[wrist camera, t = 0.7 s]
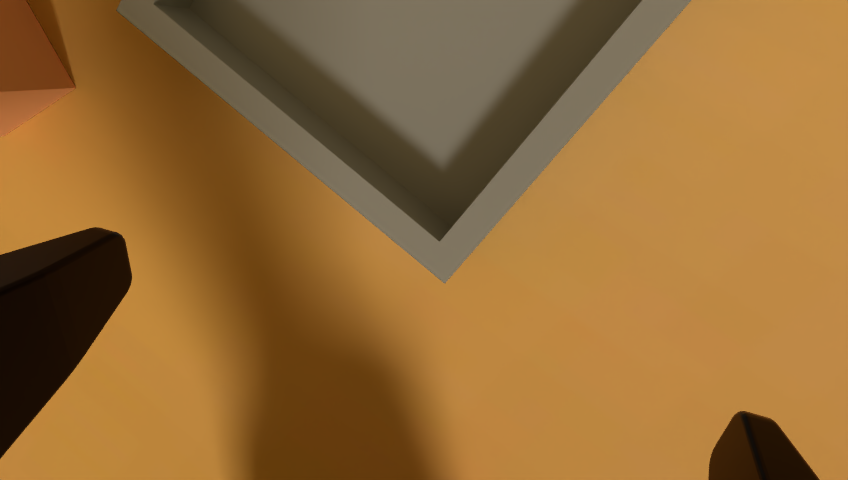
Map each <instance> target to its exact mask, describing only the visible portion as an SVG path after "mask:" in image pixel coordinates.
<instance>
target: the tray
mask: <svg viewBox="0 0 848 480" xmlns="http://www.w3.org/2000/svg"><path fill="white" fill-rule="evenodd" d="M690 1H691V0H121V2H120V4H119V6H118V8H117V10H116V11H117V12H119V13H120V14H121V15H122V16H123V17H125V18H126V19H127V20H128V21H129V22H131V23H132V24H133V25H134V26H135V27H137V28H138V29H139V30H140V31H141V32H143V33H144V34H145V35H146V36H148V37H149V38H150V39H151V40H152V41H154V42H155V43H156V44H157V45H158V46H160V47H161V48H162V49H163V50H164V51H166V52H167V53H168V54H169V55H170V56H172V57H173V58H174V59H175V60H176V61H178V62H179V63H180V64H181V65H182V66H184V67H185V68H186V69H187V70H188V71H190V72H191V73H192V74H193V75H194V76H196V77H197V78H198V79H199V80H200V81H202V82H203V83H204V84H205V85H206V86H208V87H209V88H210V89H211V90H212V91H214V92H215V93H216V94H217V95H218V96H220V97H221V98H222V99H223V100H224V101H226V102H227V103H228V104H229V105H230V106H232V107H233V108H234V109H235V110H237V111H238V112H239V113H240V114H241V115H243V116H244V117H245V118H246V119H247V120H249V121H250V122H251V123H252V124H253V125H255V126H256V127H257V128H258V129H259V130H261V131H262V132H263V133H264V134H265V135H267V136H268V137H269V138H270V139H271V140H273V141H274V142H275V143H276V144H277V145H279V146H280V147H281V148H282V149H283V150H285V151H286V152H287V153H288V154H289V155H291V156H292V157H293V158H294V159H295V160H297V161H298V162H299V163H300V164H301V165H303V166H304V167H305V168H306V169H307V170H309V171H310V172H311V173H312V174H313V175H315V176H316V177H317V178H318V179H320V180H321V181H322V182H323V183H324V184H326V185H327V186H328V187H329V188H330V189H332V190H333V191H334V192H335V193H336V194H338V195H339V196H340V197H341V198H342V199H344V200H345V201H346V202H347V203H348V204H350V205H351V206H352V207H353V208H354V209H356V210H357V211H358V212H359V213H360V214H362V215H363V216H364V217H365V218H366V219H368V220H369V221H370V222H371V223H372V224H374V225H375V226H376V227H377V228H378V229H380V230H381V231H382V232H383V233H384V234H386V235H387V236H388V237H389V238H390V239H392V240H393V241H394V242H395V243H396V244H398V245H399V246H400V247H401V248H403V249H404V250H405V251H406V252H407V253H409V254H410V255H411V256H412V257H413V258H415V259H416V260H417V261H418V262H419V263H421V264H422V265H423V266H424V267H425V268H427V269H428V270H429V271H430V272H431V273H433V274H434V275H435V276H436V277H437V278H439V279H440V280H441V281H442V282H443V283H446V281H447V280H448V279H449V278H450V277H451V276H452V275H453V273H454V272H455V271H456V270H457V269H458V268H459V267H460V265H461V264H462V263H463V262H464V261H465V260H466V258H467V257H468V256H469V255H470V254H471V253H472V252H473V250H474V249H475V248H476V247H477V246H478V245H479V244H480V242H481V241H482V240H483V239H484V238H485V237H486V235H487V234H488V233H489V232H490V231H491V230H492V229H493V227H494V226H495V225H496V224H497V223H498V222H499V221H500V219H501V218H502V217H503V216H504V215H505V214H506V213H507V211H508V210H509V209H510V208H511V207H512V206H513V204H514V203H515V202H516V201H517V200H518V199H519V198H520V196H521V195H522V194H523V193H524V192H525V191H526V190H527V188H528V187H529V186H530V185H531V184H532V183H533V181H534V180H535V179H536V178H537V177H538V176H539V175H540V173H541V172H542V171H543V170H544V169H545V168H546V167H547V165H548V164H549V163H550V162H551V161H552V160H553V158H554V157H555V156H556V155H557V154H558V153H559V152H560V150H561V149H562V148H563V147H564V146H565V145H566V144H567V142H568V141H569V140H570V139H571V138H572V137H573V136H574V134H575V133H576V132H577V131H578V130H579V129H580V127H581V126H582V125H583V124H584V123H585V122H586V121H587V119H588V118H589V117H590V116H591V115H592V114H593V113H594V111H595V110H596V109H597V108H598V107H599V106H600V104H601V103H602V102H603V101H604V100H605V99H606V98H607V96H608V95H609V94H610V93H611V92H612V91H613V90H614V88H615V87H616V86H617V85H618V84H619V83H620V81H621V80H622V79H623V78H624V77H625V76H626V75H627V73H628V72H629V71H630V70H631V69H632V68H633V67H634V65H635V64H636V63H637V62H638V61H639V60H640V59H641V57H642V56H643V55H644V54H645V53H646V52H647V50H648V49H649V48H650V47H651V46H652V45H653V44H654V42H655V41H656V40H657V39H658V38H659V37H660V36H661V34H662V33H663V32H664V31H665V30H666V29H667V27H668V26H669V25H670V24H671V23H672V22H673V21H674V19H675V18H676V17H677V16H678V15H679V14H680V13H681V11H682V10H683V9H684V8H685V7H686V6H687V5H688V3H689V2H690Z"/></svg>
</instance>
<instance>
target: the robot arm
mask: <svg viewBox="0 0 848 480" xmlns="http://www.w3.org/2000/svg"><path fill="white" fill-rule="evenodd" d="M131 281H132V273H131V268H130V262H129V257H128V252H127V247H126V242H125V239H124V238H123V237H122V235H120V234H119V233H117V232H113V231H110V230H106V229H103V228H97V227H94V228H89V229H86V230H83V231H79V232H76V233H73V234H69V235H66V236H62V237H59V238H56V239H52V240H49V241H46V242H42V243H39V244H35V245H32V246H29V247H25V248H22V249H19V250H15V251H12V252H9V253H5V254H2V255H0V458H1V457H2V456H3V455H4V454H5V452H6V451H7V450H8V449H9V448H10V446H11V445H12V444H13V443H14V442H15V440H16V439H17V438H18V437H19V436H20V434H21V433H22V432H23V431H24V430H25V428H26V427H27V426H28V425H29V424H30V423H31V421H32V420H33V419H34V418H35V417H36V415H37V414H38V413H39V412H40V411H41V409H42V408H43V407H44V406H45V405H46V403H47V402H48V401H49V400H50V399H51V397H52V396H53V395H54V394H55V393H56V391H57V390H58V389H59V388H60V387H61V385H62V384H63V383H64V382H65V381H66V379H67V378H68V377H69V376H70V374H71V373H72V372H73V371H74V369H75V368H76V366H77V365H78V364H79V362H80V361H81V359H82V358H83V357H84V355H85V354H86V352H87V351H88V349H89V348H90V346H91V345H92V343H93V342H94V340H95V339H96V337H97V336H98V335H99V333H100V332H101V330H102V329H103V327H104V326H105V324H106V323H107V321H108V320H109V318H110V317H111V315H112V314H113V312H114V311H115V309H116V308H117V307H118V305H119V304H120V302H121V301H122V299H123V298H124V296H125V295H126V293H127V292H128V290H129V287H130V285H131ZM709 480H819V478H818V477H817V476H816V474H815V473H814V472H813V470H812V469H811V468H810V466H809V465H808V464H807V462H806V461H805V460H804V459H803V457H802V456H801V455H800V453H799V452H798V451H797V449H796V448H795V447H794V445H793V444H792V443H791V441H790V440H789V439H788V437H787V436H786V435H785V433H784V432H783V431H782V430H781V428H780V427H779V426H778V424H777V423H776V422H775V421H773V420H772V419H770V418H767V417H764V416H760V415H757V414H753V413H750V412H746V411H740V412H738V413H736V414H735V415H734V416H733V418H732V419H731V421H730V423H729V424H728V426H727V428H726V429H725V431H724V432H723V434H722V436H721V437H720V439H719V441H718V442H717V444H716V446H715V447H714V449H713V452H712V454H711V458H710V464H709Z"/></svg>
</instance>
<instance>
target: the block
mask: <svg viewBox="0 0 848 480" xmlns="http://www.w3.org/2000/svg"><path fill="white" fill-rule="evenodd" d="M75 88H76V87H75V85H74V84H73V82H72V80H71V78H70V77H69V75H68V73H67V71H66V70H65V68H64V66H63V64H62V63H61V61H60V59H59V57H58V56H57V54H56V52H55V50H54V49H53V47H52V45H51V43H50V41H49V40H48V38H47V36H46V34H45V33H44V31H43V29H42V27H41V26H40V24H39V22H38V20H37V19H36V17H35V15H34V13H33V12H32V10H31V8H30V6H29V5H28V3H27V1H26V0H0V136H5V135H6V134H8V133H9V132H11V131H12V130H14V129H15V128H17V127H18V126H20V125H21V124H23V123H24V122H26V121H27V120H29V119H30V118H32V117H33V116H35V115H36V114H38V113H39V112H41V111H42V110H44V109H45V108H47V107H48V106H50V105H51V104H53V103H54V102H56V101H57V100H59V99H60V98H62V97H63V96H65V95H66V94H68V93H69V92H71V91H72V90H74V89H75Z"/></svg>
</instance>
